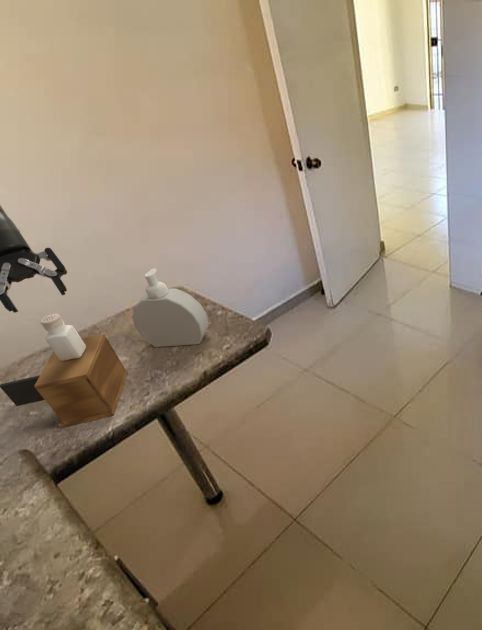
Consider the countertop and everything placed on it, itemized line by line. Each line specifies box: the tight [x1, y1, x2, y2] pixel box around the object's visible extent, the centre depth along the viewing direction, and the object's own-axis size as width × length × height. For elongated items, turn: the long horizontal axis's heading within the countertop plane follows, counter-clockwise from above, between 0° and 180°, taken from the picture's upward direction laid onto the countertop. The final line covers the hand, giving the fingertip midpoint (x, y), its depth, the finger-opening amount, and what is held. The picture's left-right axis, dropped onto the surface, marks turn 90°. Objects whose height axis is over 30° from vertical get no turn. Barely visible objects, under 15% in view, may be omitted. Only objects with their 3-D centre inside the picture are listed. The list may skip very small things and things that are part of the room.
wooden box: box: [34, 333, 128, 429], centre depth 94 cm, size 10×14×12 cm
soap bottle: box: [131, 267, 210, 348], centre depth 107 cm, size 16×5×20 cm, turn 93°
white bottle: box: [39, 313, 86, 361], centre depth 88 cm, size 4×4×10 cm
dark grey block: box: [0, 374, 45, 407], centre depth 90 cm, size 10×7×9 cm
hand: (40, 302), depth 92 cm, fingers open, 8 cm apart
